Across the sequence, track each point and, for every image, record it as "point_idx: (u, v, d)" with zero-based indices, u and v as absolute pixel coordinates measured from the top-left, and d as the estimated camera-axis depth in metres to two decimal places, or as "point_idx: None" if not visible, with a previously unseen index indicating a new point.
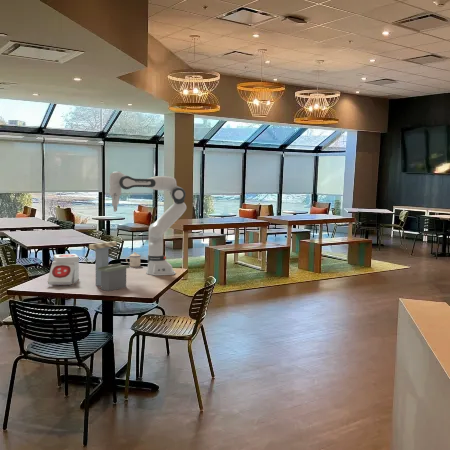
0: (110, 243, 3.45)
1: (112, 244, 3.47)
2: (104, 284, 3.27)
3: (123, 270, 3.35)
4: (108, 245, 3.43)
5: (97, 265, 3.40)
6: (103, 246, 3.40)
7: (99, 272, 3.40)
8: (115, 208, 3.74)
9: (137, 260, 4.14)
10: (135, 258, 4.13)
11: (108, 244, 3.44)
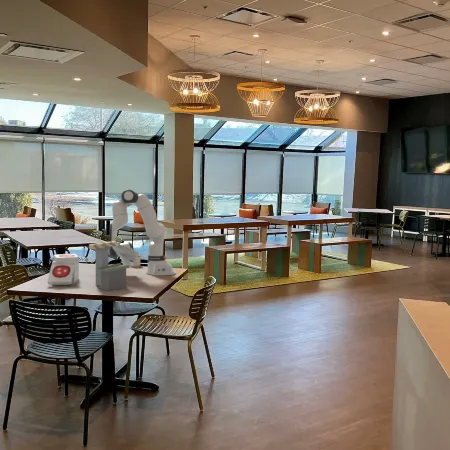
0: (110, 243, 3.45)
1: (112, 244, 3.47)
2: (104, 284, 3.27)
3: (123, 270, 3.35)
4: (108, 245, 3.43)
5: (97, 265, 3.40)
6: (103, 246, 3.40)
7: (99, 272, 3.40)
8: (118, 243, 3.60)
9: (137, 260, 4.14)
10: None
11: (108, 244, 3.44)
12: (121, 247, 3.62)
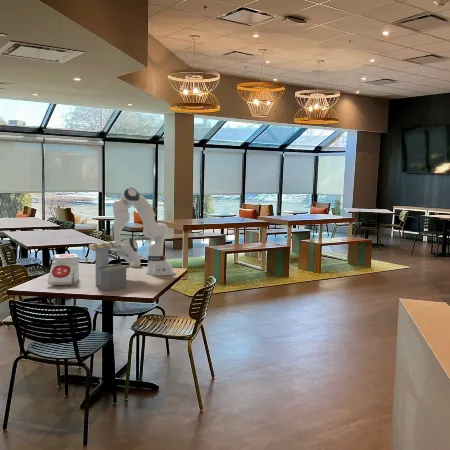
0: (110, 243, 3.45)
1: None
2: (104, 284, 3.27)
3: (123, 270, 3.35)
4: (108, 245, 3.43)
5: (97, 265, 3.40)
6: (103, 246, 3.40)
7: (99, 272, 3.40)
8: None
9: None
10: None
11: (108, 244, 3.44)
12: None
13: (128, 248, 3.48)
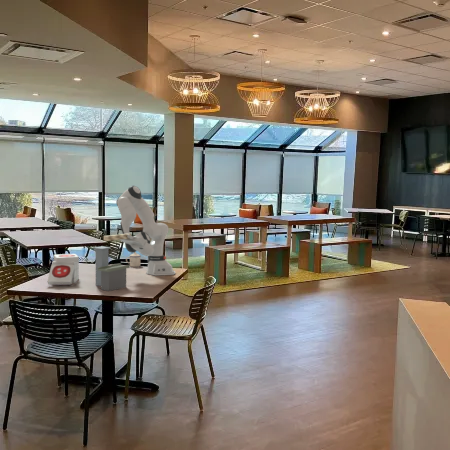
0: (125, 235, 3.41)
1: None
2: (104, 284, 3.27)
3: (123, 270, 3.35)
4: (122, 237, 3.39)
5: (97, 265, 3.40)
6: (118, 238, 3.36)
7: (99, 272, 3.40)
8: None
9: (137, 260, 4.14)
10: (135, 258, 4.13)
11: (123, 236, 3.39)
12: None
13: (143, 240, 3.44)
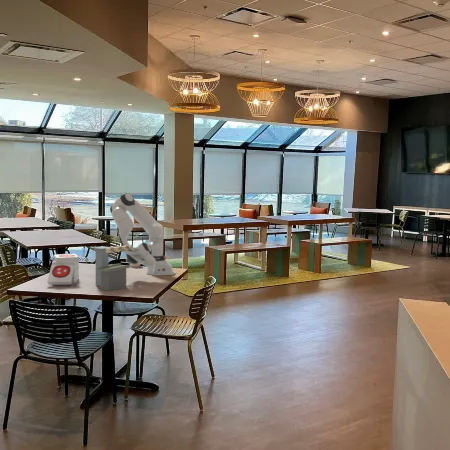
0: (126, 247, 3.40)
1: (128, 248, 3.42)
2: (104, 284, 3.27)
3: (123, 270, 3.35)
4: (124, 249, 3.39)
5: (97, 265, 3.40)
6: (120, 250, 3.35)
7: (99, 272, 3.40)
8: None
9: None
10: None
11: (124, 248, 3.39)
12: None
13: (145, 252, 3.43)
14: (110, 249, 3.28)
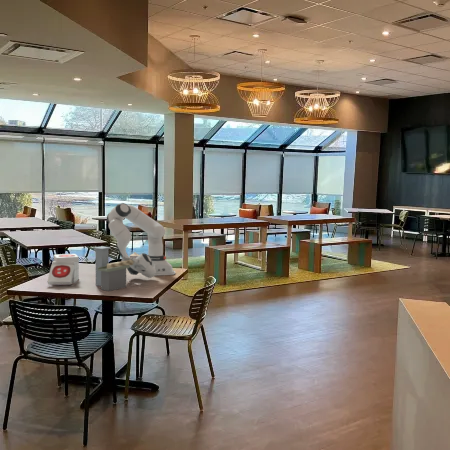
0: (127, 262, 3.41)
1: (129, 263, 3.43)
2: (104, 284, 3.27)
3: (123, 270, 3.35)
4: (125, 264, 3.40)
5: (97, 265, 3.40)
6: (121, 265, 3.36)
7: (99, 272, 3.40)
8: None
9: None
10: (135, 258, 4.13)
11: (125, 263, 3.40)
12: None
13: (145, 263, 3.44)
14: (111, 265, 3.29)
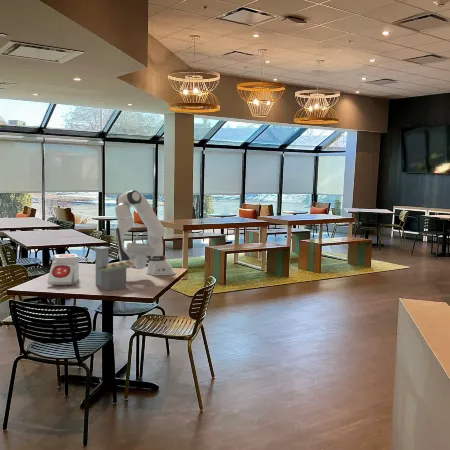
0: (127, 262, 3.41)
1: (129, 263, 3.43)
2: (104, 284, 3.27)
3: (123, 270, 3.35)
4: (125, 264, 3.40)
5: (97, 265, 3.40)
6: (121, 265, 3.36)
7: (99, 272, 3.40)
8: (132, 242, 3.50)
9: None
10: None
11: (125, 263, 3.40)
12: (136, 245, 3.52)
13: None
14: (111, 265, 3.29)
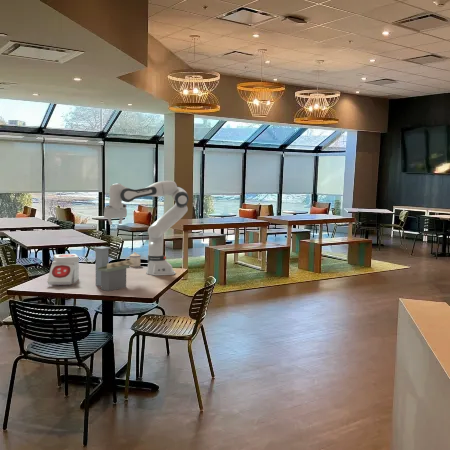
0: (127, 262, 3.41)
1: (129, 263, 3.43)
2: (104, 284, 3.27)
3: (123, 270, 3.35)
4: (125, 264, 3.40)
5: (97, 265, 3.40)
6: (121, 265, 3.36)
7: (99, 272, 3.40)
8: (109, 221, 3.66)
9: (137, 260, 4.14)
10: (135, 258, 4.13)
11: (125, 263, 3.40)
12: None
13: None
14: (111, 265, 3.29)
